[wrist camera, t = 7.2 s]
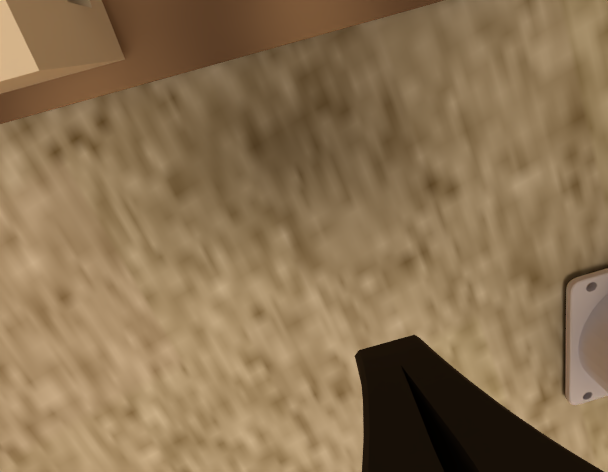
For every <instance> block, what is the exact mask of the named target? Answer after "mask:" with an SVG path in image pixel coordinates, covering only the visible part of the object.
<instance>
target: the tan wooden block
mask: <svg viewBox="0 0 608 472" xmlns="http://www.w3.org/2000/svg"><path fill="white" fill-rule="evenodd" d="M121 60H125V58H124V55H123V53H122V50H121V48H120V45H119V43H118V40H117V38H116V35H115V33H114V30H113V27H112V25H111V22H110V20H109V17H108V15H107V12H106V10H105V7H104V5H103V2H102V0H0V94H2V93H5V92H9V91H13V90H16V89H20V88H23V87H27V86H31V85H34V84H38V83H42V82H45V81H49V80H52V79H56V78H60V77H63V76H67V75H70V74H74V73H78V72H81V71H85V70H89V69H92V68H96V67H99V66H103V65H107V64H110V63H114V62H117V61H121Z"/></svg>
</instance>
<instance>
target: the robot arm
mask: <svg viewBox="0 0 608 472" xmlns="http://www.w3.org/2000/svg"><path fill="white" fill-rule="evenodd" d="M589 283H590V284H589ZM588 284H589V285H588ZM587 285H588V286H587ZM355 359H356V363H357V367H358V371H359V376H360V380H361V384H362V395H363V422H364V443H363V462H362V472H604V471H602V470H600V469H599V468H597V467H595V466H594V465H592V464H590V463H589V462H587V461H585V460H584V459H582V458H580V457H579V456H577V455H575V454H574V453H572V452H570V451H569V450H567V449H566V448H564V447H562V446H561V445H559V444H558V443H556V442H555V441H553V440H552V439H550V438H548V437H547V436H545V435H544V434H542V433H541V432H539V431H538V430H536V429H535V428H534V427H532V426H531V425H529V424H528V423H526V422H525V421H523V420H522V419H520V418H519V417H517V416H516V415H515V414H513V413H512V412H510V411H509V410H508V409H506V408H505V407H504V406H502V405H501V404H499V403H498V402H497V401H495V400H494V399H493V398H491V397H490V396H489V395H488V394H486V393H485V392H484V391H482V390H481V389H480V388H478V387H477V386H476V385H474V384H473V383H472V382H470V381H469V380H468V379H467V378H465V377H464V376H463V375H462V374H460V373H459V372H458V371H457V370H456V369H454V368H453V367H452V366H451V365H450V364H448V363H447V362H446V361H445V360H444V359H443V358H441V357H440V356H439V355H438V354H437V353H436V352H435V351H433V350H432V349H431V348H430V347H429V346H428V345H427V344H426V343H425V342H423V341H422V340H421V339H420V338H419V337H417V336H415V335H412V336H408V337H405V338H401V339H398V340H394V341H391V342H387V343H383V344H380V345H376V346H373V347H369V348H365V349H362V350H359V351H358V352H357V354H356V355H355ZM605 396H608V268H606V269H603V270H600V271H596V272H593V273H589V274H586V275H583V276H579V277H576V278H574V279H572V280H571V281H570V282H569V283H568V285H567V288H566V385H565V397H566V399H567V400H568V401H569V403H571V404H572V405H579V404H582V403H586V402H589V401H592V400H595V399H599V398H602V397H605Z"/></svg>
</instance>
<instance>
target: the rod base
mask: <svg viewBox="0 0 608 472" xmlns="http://www.w3.org/2000/svg"><path fill="white" fill-rule="evenodd" d="M440 1H444V0H102V2H103V5H104V7H105V10H106V12H107V15H108V17H109V20H110V22H111V25H112V27H113V30H114V33H115V35H116V38H117V40H118V43H119V45H120V48H121V50H122V53H123V55H124V58H125V60H121V61H117V62H114V63H110V64H107V65H103V66H99V67H96V68H92V69H89V70H85V71H81V72H78V73H74V74H70V75H67V76H63V77H60V78H56V79H52V80H49V81H45V82H42V83H38V84H34V85H31V86H27V87H23V88H20V89H16V90H13V91H9V92H5V93H2V94H0V124H2V123H5V122H9V121H13V120H16V119H20V118H23V117H27V116H31V115H34V114H38V113H41V112H45V111H49V110H52V109H56V108H59V107H63V106H67V105H70V104H74V103H77V102H81V101H84V100H88V99H92V98H95V97H99V96H102V95H106V94H110V93H113V92H117V91H120V90H124V89H128V88H131V87H135V86H138V85H142V84H146V83H149V82H153V81H156V80H160V79H164V78H167V77H171V76H174V75H178V74H181V73H185V72H189V71H192V70H196V69H199V68H203V67H207V66H210V65H214V64H217V63H221V62H225V61H228V60H232V59H235V58H239V57H243V56H246V55H250V54H253V53H257V52H261V51H264V50H268V49H271V48H275V47H279V46H282V45H286V44H289V43H293V42H296V41H300V40H304V39H307V38H311V37H314V36H318V35H322V34H325V33H329V32H332V31H336V30H340V29H343V28H347V27H350V26H354V25H358V24H361V23H365V22H368V21H372V20H376V19H379V18H383V17H386V16H390V15H393V14H397V13H401V12H404V11H408V10H411V9H415V8H419V7H422V6H426V5H429V4H433V3H437V2H440Z"/></svg>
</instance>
